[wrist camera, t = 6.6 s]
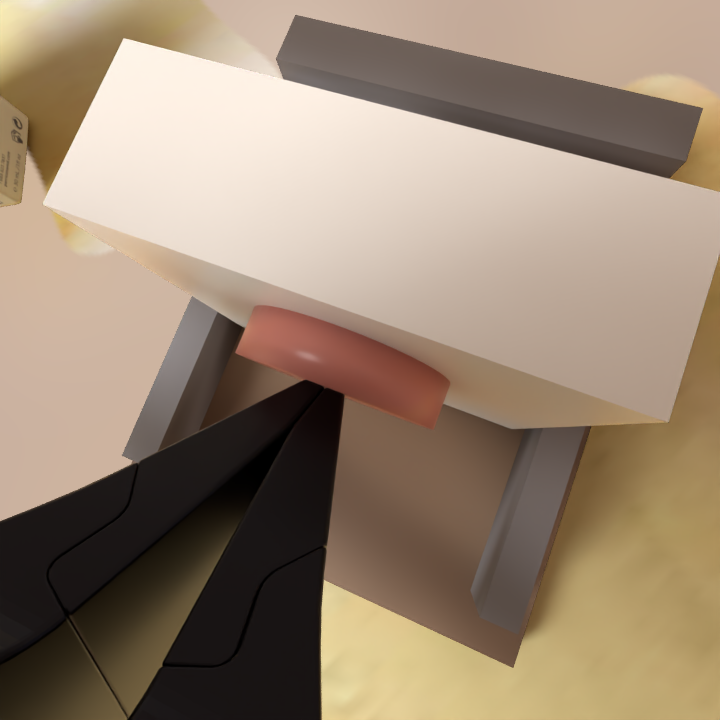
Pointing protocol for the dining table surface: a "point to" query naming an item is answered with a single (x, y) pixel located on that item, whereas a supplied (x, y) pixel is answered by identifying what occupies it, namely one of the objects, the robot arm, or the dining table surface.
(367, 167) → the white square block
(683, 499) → the dining table surface
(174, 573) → the robot arm
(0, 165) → the skincare box
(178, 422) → the press base
